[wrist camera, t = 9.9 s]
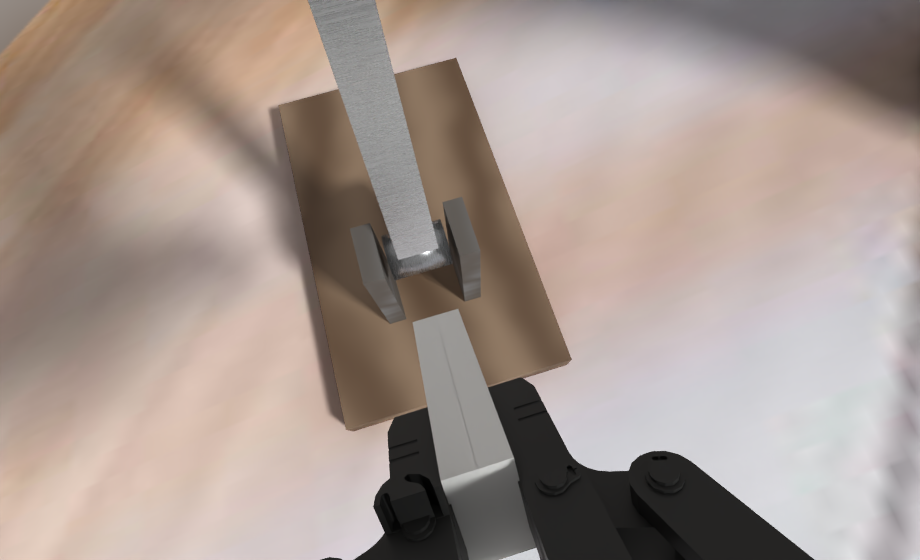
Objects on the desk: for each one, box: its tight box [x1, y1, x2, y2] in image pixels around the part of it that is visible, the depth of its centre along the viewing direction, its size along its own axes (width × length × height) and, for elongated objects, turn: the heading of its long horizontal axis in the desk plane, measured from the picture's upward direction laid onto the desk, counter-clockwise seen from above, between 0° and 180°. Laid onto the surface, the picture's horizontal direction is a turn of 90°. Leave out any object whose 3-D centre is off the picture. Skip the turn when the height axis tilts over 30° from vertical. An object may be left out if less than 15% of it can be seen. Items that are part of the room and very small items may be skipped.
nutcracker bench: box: [279, 58, 572, 431], centre depth 35 cm, size 16×28×10 cm, turn 17°
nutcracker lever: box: [308, 0, 453, 281], centre depth 23 cm, size 4×8×24 cm, turn 17°
